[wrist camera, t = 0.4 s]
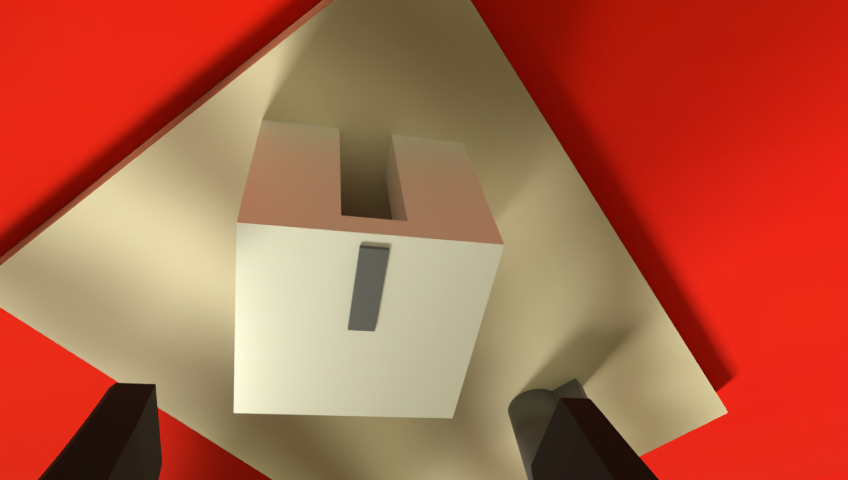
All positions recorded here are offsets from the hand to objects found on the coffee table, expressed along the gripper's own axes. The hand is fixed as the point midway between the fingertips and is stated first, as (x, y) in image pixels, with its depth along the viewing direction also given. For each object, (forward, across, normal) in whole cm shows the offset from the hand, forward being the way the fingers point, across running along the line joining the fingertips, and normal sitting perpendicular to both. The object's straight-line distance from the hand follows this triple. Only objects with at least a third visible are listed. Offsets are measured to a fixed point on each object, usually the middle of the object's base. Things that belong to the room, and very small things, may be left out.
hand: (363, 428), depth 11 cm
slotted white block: (+8, 0, 0) cm, 8 cm away
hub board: (+9, -3, +6) cm, 11 cm away
